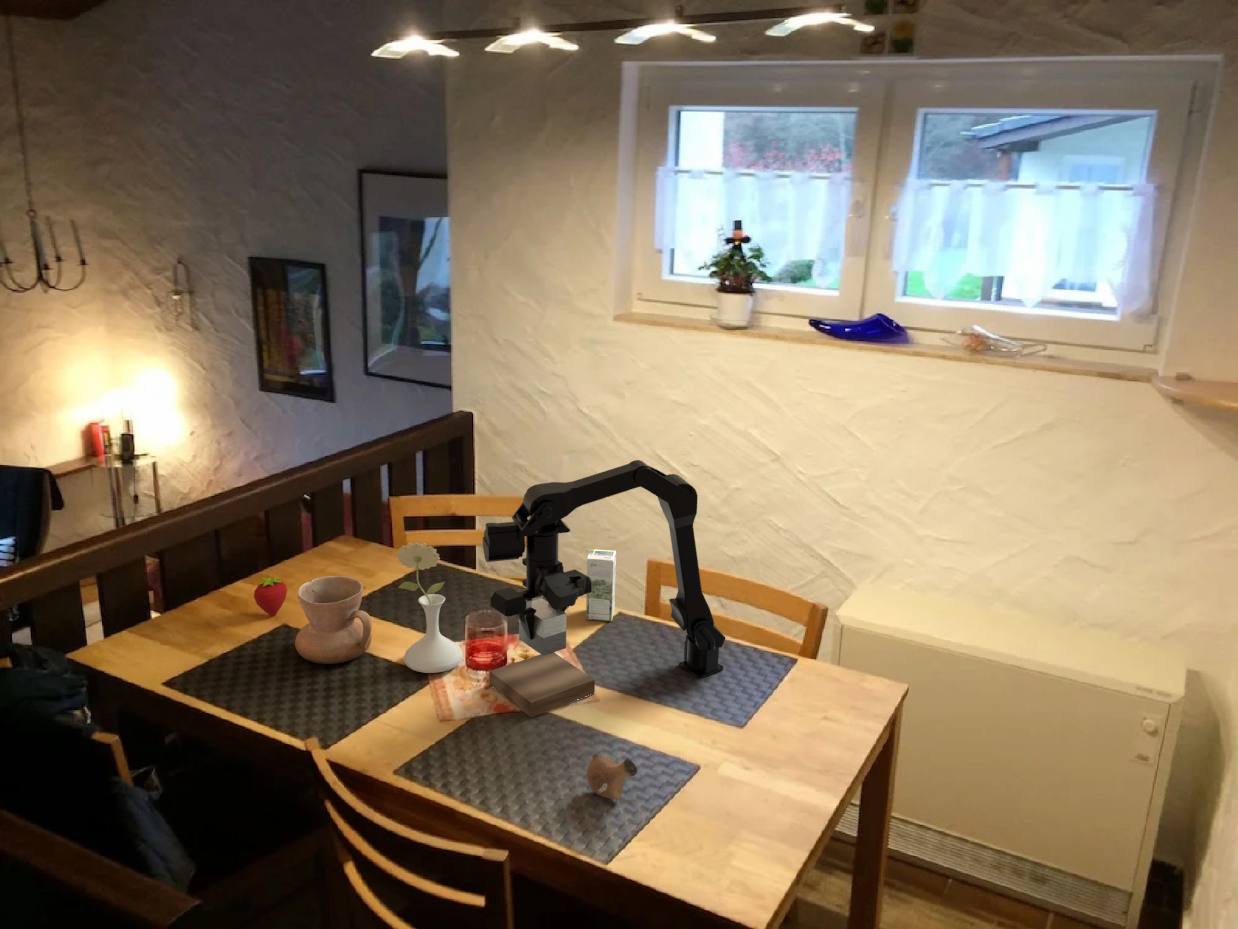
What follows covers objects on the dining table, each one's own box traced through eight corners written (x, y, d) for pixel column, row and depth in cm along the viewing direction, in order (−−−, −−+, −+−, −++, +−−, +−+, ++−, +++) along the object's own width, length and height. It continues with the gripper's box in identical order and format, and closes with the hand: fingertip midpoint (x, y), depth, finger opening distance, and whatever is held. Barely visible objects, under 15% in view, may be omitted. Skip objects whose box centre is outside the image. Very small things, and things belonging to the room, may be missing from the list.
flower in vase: (473, 656, 203) (471, 538, 196) (445, 683, 193) (442, 559, 185) (415, 645, 207) (410, 529, 200) (385, 671, 197) (379, 549, 189)
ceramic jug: (275, 656, 201) (270, 590, 196) (330, 628, 213) (326, 565, 208) (342, 683, 192) (338, 615, 188) (396, 652, 204) (393, 587, 200)
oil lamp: (642, 802, 159) (643, 756, 157) (628, 815, 156) (629, 769, 154) (594, 782, 164) (595, 738, 161) (579, 795, 160) (580, 750, 158)
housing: (519, 639, 190) (518, 604, 188) (541, 632, 193) (541, 598, 191) (543, 656, 184) (543, 620, 182) (566, 648, 187) (566, 613, 185)
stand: (594, 694, 190) (594, 679, 189) (531, 717, 182) (531, 702, 181) (551, 664, 201) (551, 650, 200) (489, 685, 192) (489, 671, 191)
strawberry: (249, 620, 216) (245, 576, 213) (273, 606, 222) (270, 563, 219) (271, 625, 214) (267, 581, 211) (295, 611, 220) (292, 568, 217)
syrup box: (614, 611, 225) (616, 549, 220) (612, 622, 219) (613, 559, 215) (589, 609, 225) (590, 547, 221) (585, 621, 219) (586, 557, 215)
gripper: (522, 582, 172) (523, 666, 176) (611, 558, 183) (609, 637, 187) (488, 561, 180) (489, 642, 185) (574, 539, 191) (574, 616, 196)
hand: (542, 635), depth 188 cm, fingers closed on housing, 5 cm apart
